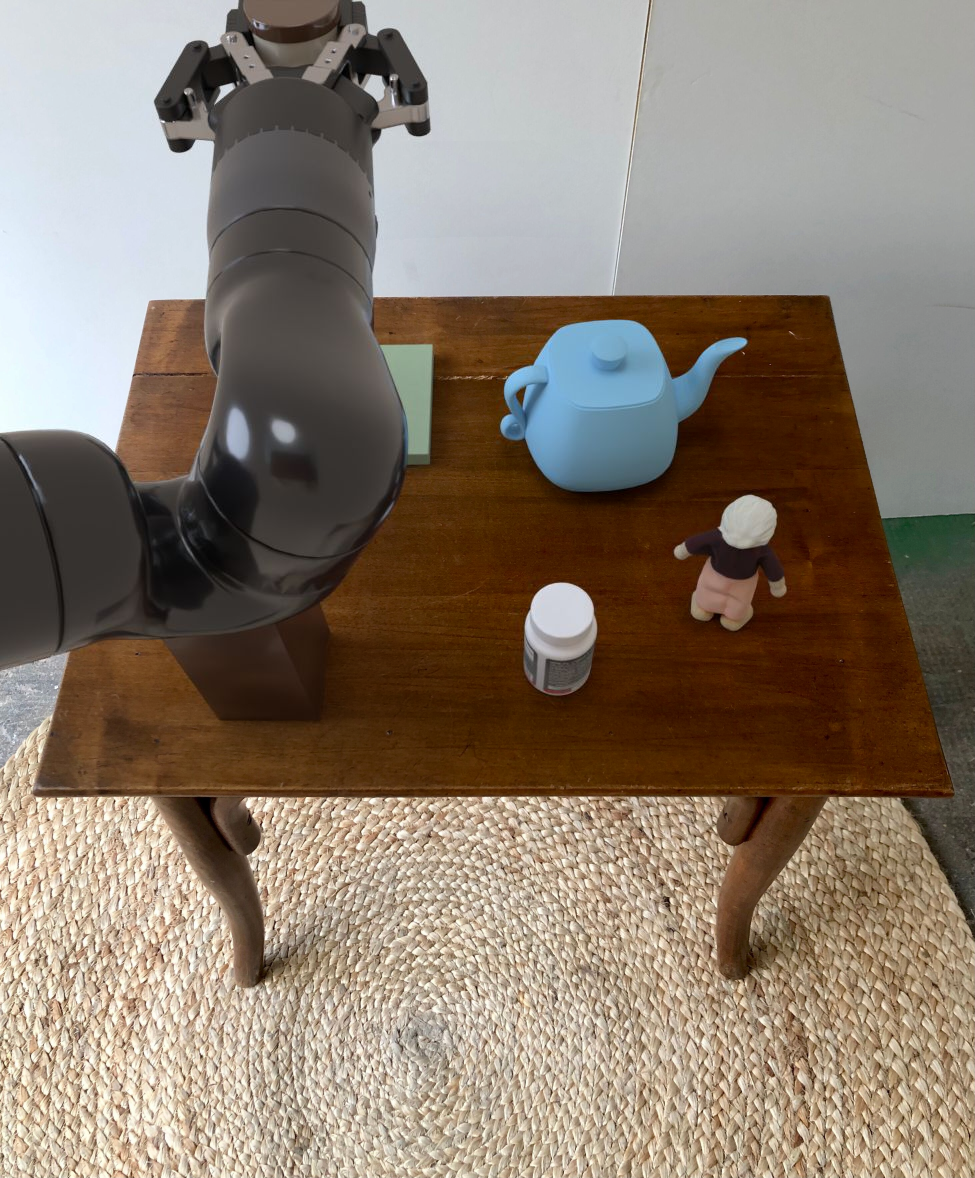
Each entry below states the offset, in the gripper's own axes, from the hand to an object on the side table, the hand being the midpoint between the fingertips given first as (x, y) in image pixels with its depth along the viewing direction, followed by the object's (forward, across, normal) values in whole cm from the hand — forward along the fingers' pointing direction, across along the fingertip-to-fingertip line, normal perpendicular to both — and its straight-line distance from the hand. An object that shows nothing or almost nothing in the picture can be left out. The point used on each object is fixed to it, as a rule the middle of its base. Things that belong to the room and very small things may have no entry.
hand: (298, 13), depth 50 cm
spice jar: (-3, 0, +7) cm, 7 cm away
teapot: (-7, -20, +31) cm, 37 cm away
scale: (-2, +2, +31) cm, 31 cm away
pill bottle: (-27, -13, +31) cm, 43 cm away
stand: (-26, +7, +31) cm, 41 cm away
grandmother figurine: (-23, -25, +31) cm, 46 cm away
